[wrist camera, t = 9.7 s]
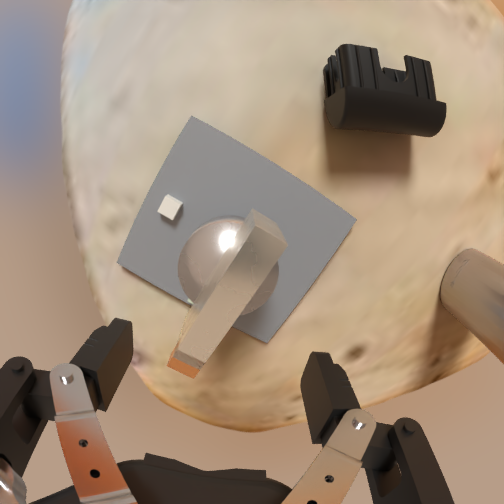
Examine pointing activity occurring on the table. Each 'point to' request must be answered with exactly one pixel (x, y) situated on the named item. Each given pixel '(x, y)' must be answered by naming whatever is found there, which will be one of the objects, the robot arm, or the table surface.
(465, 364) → the table surface
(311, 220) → the base
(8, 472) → the robot arm
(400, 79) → the end cap
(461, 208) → the table surface
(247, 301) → the lock knob
